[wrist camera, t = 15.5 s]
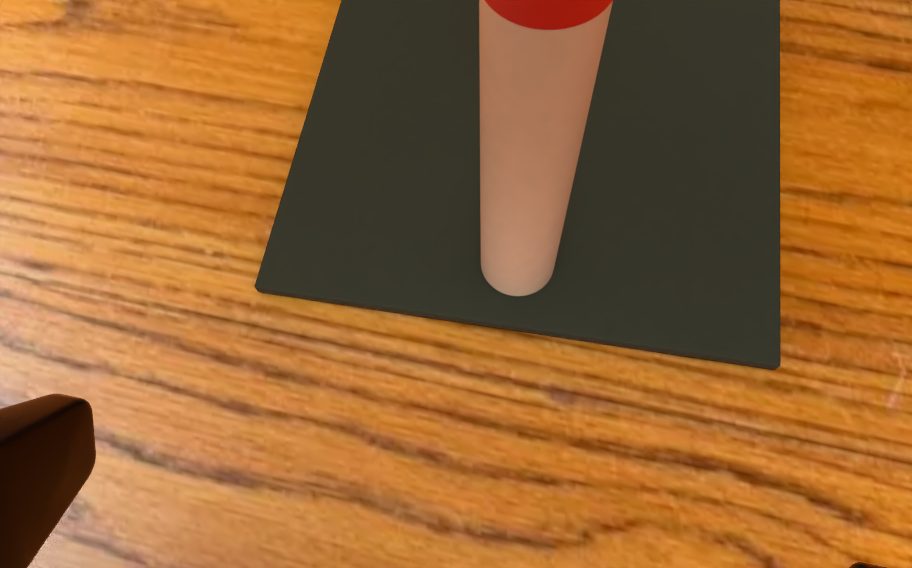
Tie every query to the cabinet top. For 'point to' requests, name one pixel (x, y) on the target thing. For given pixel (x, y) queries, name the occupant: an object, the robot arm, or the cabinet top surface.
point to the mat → (593, 190)
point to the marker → (532, 129)
